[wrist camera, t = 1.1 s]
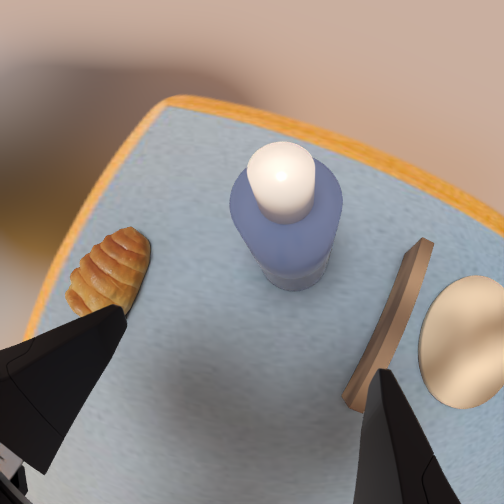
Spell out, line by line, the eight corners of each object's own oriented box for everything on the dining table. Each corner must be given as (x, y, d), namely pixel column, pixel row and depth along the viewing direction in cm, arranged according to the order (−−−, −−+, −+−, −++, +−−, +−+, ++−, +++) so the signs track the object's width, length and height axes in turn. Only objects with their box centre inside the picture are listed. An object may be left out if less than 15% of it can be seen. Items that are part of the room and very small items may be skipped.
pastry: (125, 220, 27) (103, 204, 23) (171, 256, 25) (150, 242, 21) (76, 297, 25) (50, 289, 22) (115, 340, 23) (89, 338, 20)
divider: (352, 400, 18) (362, 413, 15) (341, 395, 19) (349, 407, 15) (415, 259, 21) (434, 243, 17) (404, 254, 21) (422, 237, 17)
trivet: (527, 353, 16) (532, 353, 15) (445, 432, 16) (449, 434, 15) (484, 254, 19) (488, 252, 19) (395, 324, 20) (398, 324, 19)
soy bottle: (339, 270, 22) (376, 190, 10) (280, 303, 22) (250, 258, 10) (306, 215, 23) (302, 103, 12) (249, 246, 23) (195, 154, 12)
